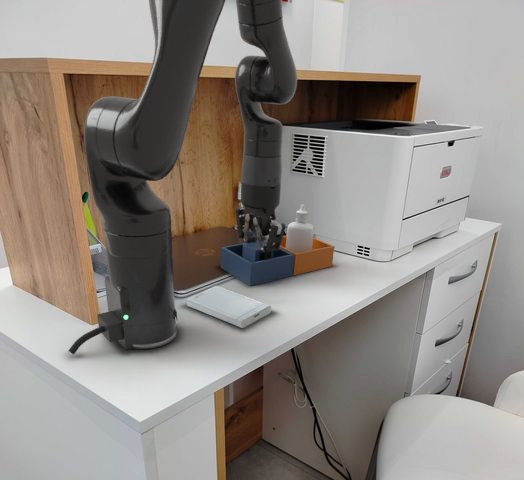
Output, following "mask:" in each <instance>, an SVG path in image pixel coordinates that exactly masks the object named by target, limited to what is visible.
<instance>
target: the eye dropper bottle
mask: <svg viewBox="0 0 524 480" xmlns="http://www.w3.org/2000/svg"><path fill="white" fill-rule="evenodd" d="M305 207H306V206H305V204H300V208H299V209H298V210H296V211H295V221H292V222H290V223H289V224H288V225H287V228H286V235H287V237H286V249H288V250H290V251H292V252H294V253H300V252H305V251H310V250H312V243H313V237H314V234H315V233H314V232H315V228H314V226H313V224H311V223H309V222H308V217H309V212H308V211H307V210H306V208H305Z"/></svg>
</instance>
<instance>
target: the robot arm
mask: <svg viewBox="0 0 524 480" xmlns="http://www.w3.org/2000/svg"><path fill="white" fill-rule="evenodd" d="M225 3H226V0H148V5H149V13H150V19H151V20H150V21H151V25H152V30H153V37H154V53H153V59H152V63H151V67H150V71H149V74H148V76H147V80H146V83H145V85H144V88H143V90H142V92H141V94H140V96H139V97H138V98H133V97H124V96H123V97H122V96H111V95H110V96H103V97H101V98H98V99H97V100H96V101H94V102H93V103H92V104H91V106H90V107H89V109H88V111H87V114H86V116H85V121H84V125H83V126H84V127H83V143H84V151H85V158H86V164H87V170H88V175H89V182H90V187H91V194H92V198H93V202H94V205H95V207H96V209H97V211H98V214H99V215H100V218H101V221H102V227H103V228H102V229H103V236H104V245H105V255H106V264H107V271H108V276H105V277H104V287H105V294H106V303H107V311H106V312H101V313H97V315H96V317H97V324H98V327H96V328H94V329H92V330H90V331H87V332H86V333H84V334H82V336H80V337H79V338H77V339H76V340H75V341H74V343H73V344H72V345H71V346H70V347H69V349H68V352H69V353H71V354H72V355H75V354H76V353H77V351H78V350H79V349H80V348H81V346H82V345H84V343H86V342H87V341H89V340H90V339H92V338H95V337H96V336H98V335H100V334H101V335H102V336H103V337H104V338H105V339H106V340H107V341H108V342H109V344H110V343H114V342H117V343H119V345H120V346H122V347H123V349H124V350H126V351H129V350H132V349H139V350H147V349H154V348H158V347H159V348H160V347H163V346H166V345H167V344H169V343H171V342H173V340H174V339H175V338H176V336H177V320H178V312H177V309H176V305H175V303H176V302H175V283H174V282H175V281H174V259H173V236H172V235H173V233H172V214H171V208H170V207H169V206H168V204H167V203H166V202H165V201H164V200H162V199H161V198H160V197H159V196H158V195H157V194H156V193H155V192H154V191H153V190H152V188H151V186H150V184H149V183H148V181H149V182H158V181H160V180H162V179H164V178H166V177H167V176H168V175H169V174H170V173H171V172H172V171H173V169H174V167H175V166H176V164H177V162H178V160H179V157H180V154H181V152H182V151H181V150H182V148H183V145H184V141H185V137H186V134H187V129H188V125H189V121H190V116H191V112H192V108H193V104H194V99H195V96H196V92H197V88H198V83H199V80H200V76H201V74H202V70H203V67H204V64H205V60H206V57H207V54H208V51H209V48H210V44H211V41H212V39H213V35H214V32H215V30H216V27H217V25H218V22H219V19H220V17H221V14H222V11H223V10H224V6H225ZM235 5H236V14H237V21H238V29H239V30H238V31H239V34H240V38H241V40H242V41H243V42H244V43H246V44H248V45H249V46H250V45H251V46H253V47H256V48H258V49H259V50H261V51H262V52H263V54H264V55H246V56H244V57H243V58H241V59H240V61H239V63H238V65H237V67H236V69H235V73H234V85H235V92H236V96H237V101H238V105H239V110H240V115H241V122H242V126H243V149H242V152H243V153H242V161H241V171H240V173H241V175H240V203H241V205H242V206H244V207H239V208H236V209H235V211H234V212H235V220H236V227H237V234H238V238H239V239H242V243H250V242H255V241H259V244H260V251H261V252H260V261H262V260H267V259H271V253H272V252H274V251H279V248H280V245H281V241H282V238H283V236H284V233H285V231H286V225H285V223H284V222H283V223H279V222H278V221H277V216H276V209H277V207H278V206H279V205H280V203H281V201H280V200H281V187H282V173H283V172H282V171H283V163H282V153H283V152H282V151H283V136H284V126H283V124H282V122H281V121H279V120H278V119H276V118H273V117H271V116H268V115H267V114H266V113H265V112H264V109H263V108H262V104H270V105H287V104H288V103H289V102H290V101H291V100H292V99H293V98H294V95H295V94H296V91H297V86H298V73H297V68H296V64H295V61H294V57H293V55H292V51H291V49H290V48H291V47H290V45H289V41H288V37H287V34H286V31H285V25H284V17H283V1H282V0H235ZM265 240H267V246H265ZM273 243H275V244H274V245H273Z"/></svg>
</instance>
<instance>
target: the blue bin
mask: <svg viewBox="0 0 524 480" xmlns="http://www.w3.org/2000/svg"><path fill="white" fill-rule="evenodd" d="M265 243H267V241H265ZM243 244H244V242H242V243H237V244H231V245H226V246H221V247H220V268H221V269H222V270H224V271H225V272H226V273H228V274H229V275H232V276H233V277H235V278H237V279H238V280H240V281H241V282H243V283H245V284H246V285H248V286H249V287H251V286H256V285H260V284H263V283H264V284H265V283H268V282H272V281H277V280H280V279H284V278H289V277H292V276H294V275H293V265H294V254H292V253H289V252H287V251H285V250H283V249H281V248H279V251H274V252H273V258H272V259H267V260H262V261H257V262H253V263H251V262H250V261H248V260H246V259H244V258H242V255H243Z"/></svg>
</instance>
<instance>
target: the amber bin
mask: <svg viewBox="0 0 524 480" xmlns="http://www.w3.org/2000/svg"><path fill="white" fill-rule="evenodd" d="M286 237H287V234H285V235H283V238H282V241H281V245H280V248H281V249H283V250H285V251H287V252H289V253H292V254H294V265H293V276H297V275H301V274H304V273H311V272H314V271H318V270H322V269H327V268H330V267H332V266H333V261H334V253H335V245H332V244H330V243H328V242H325V241H323V240H321V239H318V238H316V237H314V236H313V243H312V250H310V251H305V252H300V253H294V252H292V251H290V250H288V249H286ZM265 241H267V240H265ZM274 244H275V243H273V245H274Z"/></svg>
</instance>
